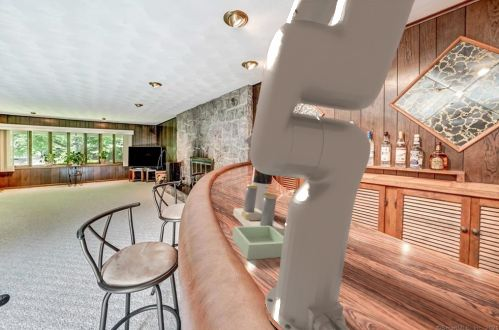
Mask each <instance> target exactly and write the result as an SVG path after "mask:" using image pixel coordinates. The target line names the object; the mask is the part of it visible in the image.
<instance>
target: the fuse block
mask: <svg viewBox="0 0 499 330" xmlns="http://www.w3.org/2000/svg"><path fill="white" fill-rule="evenodd" d="M257 187H258V186H257V185H252V183H249V184H248V183H247V184H246V189H245V196H244V205H243V208H242V207H241V208H240V207H239V208H238V207H237V208H235V207H234V208H233V213H232V215H233V216H234V218H236V219H237V221H239V223H241V224H242V226H271V227H273V228H274V229H275V230H276V231H277V232H279V233H280V234H281V235H282V236H284V231H285V227H283V225H281V224H279V223H278V222H277V221H276V220H274V219H275V218H274V217H275V211H276V205H277V198H278V195H277V194H276V193H275V194H274V193H264V195H263V197H264V198H263V205H262V211H260V210H259V209H255V201H256V193H257Z"/></svg>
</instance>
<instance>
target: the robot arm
mask: <svg viewBox="0 0 499 330" xmlns="http://www.w3.org/2000/svg"><path fill="white" fill-rule="evenodd" d="M415 1H416V0H294V2H293V4H292V7H291V9H290V12H289V14H288V17H287V20H286V23H284V24H283V25H282V26H280V27H279V29H278V30H277V31H276V33H275V35H274V37H273V39H272V41H271V43H270V46H269V48H268V53H267V55H266V60H265V64H264V66H263V69H262V79H261V84H260V85H261V86H260V90H259V96H258V101H257V104H256V106H255V108H256V111H255V116H254V117H255V118H254V124H253V129H252V133H250V134H249V135H248V136H247V137H246V138H245V139H244V142H245V143H246V144H247V146H248V147H249V149H250V151H249V155H250V163H251V164H252V167H253V168H255V169H256V170H257V171H259V172H261V173H264V174H268V175H273V176H274V177H275V176H276V177H284V178H294V179H302V180H304V181H303V182H302V183H301V184H300V186H299V187H298V188H297V189H296V190H295V192H294V193H293V195H292V196H291V198H290V199H289V202H288V205H287V210H286V211H287V212H286V217H285V224H284V226H285V227H284V228H285V231H284V238H283V245H282V253H281V257H280V260H279V261H280V262H279V267H278V276H277V283H276V286H273V288H271V289H270V290H268V292H267V294H266V296H265V300H264V305H265V304H266V307H267V309H268V311H269V313H270V314H271V317H272V318H273V319H274V320H275V321H276V322H277V323H278V325H279V326H280V328H282V329H283V330H351V329H350V328H349V327H348V326H347V324H346V318H345V316H344V313H343V311H344V306H343V305H342V304H341V303H340V302H339V297H340V290H341V284H342V278H343V272H344V267H345V260H346V252H347V247H348V242H349V241H348V240H349V234H350V228H351V223H352V219H353V211H354V208H355V202H356V198H357V195H358V191H359V187H360V184H361V181H362V179H363V176H364V174H365V171H366V169H367V167H368V163H369V160H370V155H371V142H370V139H369V136H368V135H367V133H366V132H365V131H364V130H363V129H362V128H361V127H360V126H358V125H357V124H355V123H353V122H349V121H347V120H344V119H343V120H342V119H339V118H332V117H327V116H320V115H313V114H305V113H299V112H294V111H295V109H296V107H297V106H298V105H299V104H303V105H309V106H313V107H322V108H327V109H333V110H339V111H340V110H341V111H351V112H356V111H362V110H364V109H367V108H368V107H370V106H372V104H373V103H374V102H375V101H376V100H377V98H378V97H379V96H380V93H381V92H382V88H383V87H384V86H385V85H384V84H385V82H386V81H387V77H388V76H389V75H388V74H389V72H390V69H391V67H392V64H393V61H394V58H395V56H396V53H397V50H398V48H399V45H400V43H401V41H402V37H403V34H404V32H405V28H406V25H407V23H408V21H409V18H410V15H411V12H412V9H413V6H414V3H415ZM331 20H332V21H331ZM330 22H331V23H330ZM329 24H330V25H329Z"/></svg>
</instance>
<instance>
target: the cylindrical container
mask: <svg viewBox="0 0 499 330" xmlns="http://www.w3.org/2000/svg"><path fill="white" fill-rule="evenodd" d="M252 169H253V170H252V177H251V184H252V185H257V186H258V187H257V193H256V201H255V209H259V210H260V211H262V205H263V198H264V197H263V195H264V193H268V192H269V185H270V184H261V183H256V182H254V173H255V168H254V167H253V168H252Z"/></svg>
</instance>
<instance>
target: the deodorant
mask: <svg viewBox="0 0 499 330" xmlns="http://www.w3.org/2000/svg"><path fill="white" fill-rule="evenodd" d="M273 176H274V175H268V174H264V173H261V172H259V171H257V170H256V169H255V173H254V182H256V183H261V184H269V185H271V184H272V182H273Z"/></svg>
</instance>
